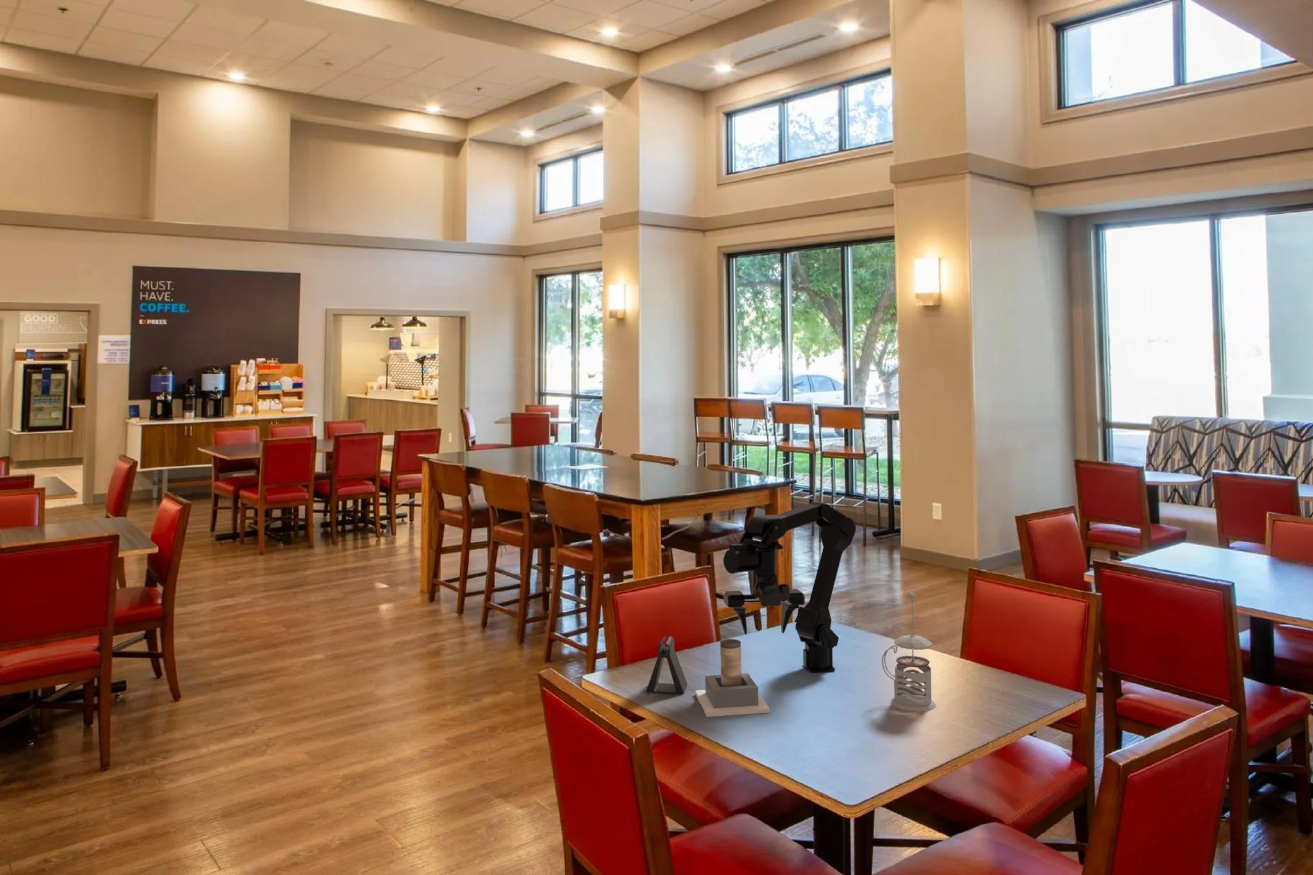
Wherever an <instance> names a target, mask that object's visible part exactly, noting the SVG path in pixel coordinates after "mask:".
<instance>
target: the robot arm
mask: <svg viewBox="0 0 1313 875" xmlns="http://www.w3.org/2000/svg"><path fill="white" fill-rule="evenodd" d="M813 522H814V524H815V525H817V527H819V529H820V535H819V536H820V540H821V545H822V551H821V554H820V558H819V563H818V566H817V569H816V573H815V578H814V582H813V585H812V586H813V587H812V589H811V592H810V593H811V594H810V598H809V601H808V603H807V604H806V598H805V594H804V593H803V592H802V591H800V590H799V589H798V588H790V585H789V583H782V584H779V583H778V576H777V556H776V555H777V554H776V553H777V551H778V550H783V548H784V546H783V545H782V544H781V543H780V542H779V541H778V540H779V539H781V538H784V536H785V534H787V532H789V531H791V530H794V529H797V528H799V527H803V526H806V525H808V524H811V523H813ZM856 531H857V525H856V524H855V522H854V520H853V518H851V517H848V516H846V515H845V514H843V513H842V512H840V511H838V510H836V509H834V508H833V507H832V506H830V505H829V504H828V503H826V502H821V501H812V502H810V503H809V504H805V505H803V506H799V507H797V508H795V509H794V508H793V509H791V510H789V511H785V512H782V513H778V514H764V515H763V514H762V515H754V516H752V517H751V518H750V519H749V523H748V525H747V527H746V528H745V531H744V532H743V534H742V535H741V537H740V540H739V541H738V543H730V544H729V545H728V549H726V552H725V553H724V556H723V559H722V562H723V566H724V569H725V570H726V571H727V572H728V573H729V574H731V575H733V574H739V573H740V574H741V573H747V572H751V594H747V593H746V594H745V593H743V592H742V591H741V590H726V591H725V592H724V594H723V603H724V604H725V605H726V606H727V608H731V609H732V610H733V611H735V612H736V614H737V617H738V619H739V622H740V625H741V626H740V627H741V628H742V631H743V633H744V634H743V635H748V633H747V632H748V627H747V617H746V611H747V608H746V607H745V604H746V603H760V605H761V606H762V607H764V608H765V607H771V606H772V607H773V606H774V607H780V606H781V607H780V609H781V610H780V614H781V615H780V616H781V618H780V628H781V630H780V631H781V634H784V633H785V631H786V629H787V626H788V624H789V621H790V618H791V615H792V614H793V612H794V611H795V610H796V609H797V615H796V617H795V619H794V623H795V628H794V629H795V631H796V632H797V635H798V637H799V641H800V642H801V643H804V648H803V649H802V653H803V654H802V665H803V666H804V667H805V668H806V669H807V670H808V671H809V672H810V673H817V672H818V673H819V672H833V671H836V667H834V665H833V664H834V661H833V654H834V653H833V649H834V647H837V646H838V644H839V643H838V642H839V641H840V640H839V639H840V637H838V635H837V634H836V633H835V632H834V631H833V630H832V629H831V626H832V617H831V613H830V612H831V611H830V609H829V608H830V607H829V606H830V602H831V599H832V595H833V591H834V587H835V584H836V579H837V574H838V570H839V567H840V564H841V559H842V555H843V553H844V552H845V551H846V549H847V548H849V546H850V545H851V544H852V542H853V540H854V537H855V534H856ZM804 605H805V606H804ZM803 606H804V607H803Z"/></svg>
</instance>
